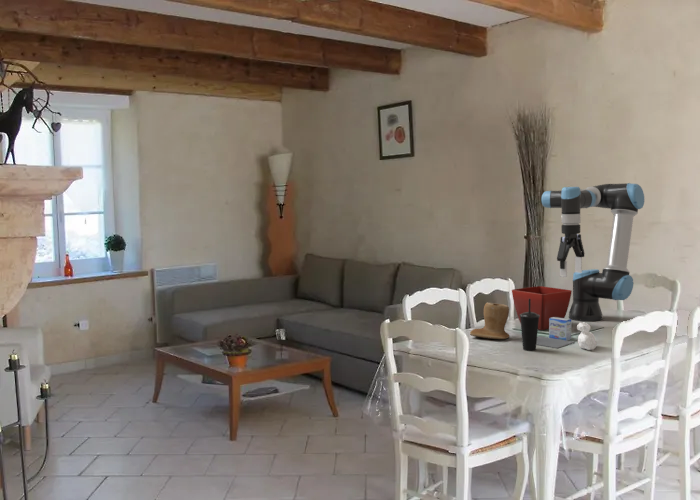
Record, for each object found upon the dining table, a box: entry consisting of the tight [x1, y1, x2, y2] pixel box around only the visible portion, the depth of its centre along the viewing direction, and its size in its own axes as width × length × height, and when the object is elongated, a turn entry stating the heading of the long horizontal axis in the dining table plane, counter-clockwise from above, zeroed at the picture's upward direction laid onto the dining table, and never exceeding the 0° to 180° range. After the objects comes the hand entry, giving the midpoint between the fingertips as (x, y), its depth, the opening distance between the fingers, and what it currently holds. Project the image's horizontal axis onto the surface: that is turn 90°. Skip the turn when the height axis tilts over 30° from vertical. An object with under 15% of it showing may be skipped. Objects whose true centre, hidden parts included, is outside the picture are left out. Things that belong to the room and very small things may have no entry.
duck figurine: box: [576, 321, 598, 351], centre depth 269 cm, size 12×8×11 cm
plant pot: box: [511, 285, 573, 331], centre depth 310 cm, size 19×19×17 cm
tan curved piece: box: [469, 302, 510, 340], centre depth 290 cm, size 15×12×15 cm
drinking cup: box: [519, 299, 540, 352], centre depth 268 cm, size 8×8×20 cm
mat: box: [536, 335, 576, 349], centre depth 280 cm, size 13×16×1 cm
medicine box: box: [548, 317, 572, 341], centre depth 286 cm, size 8×4×9 cm, turn 45°
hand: (571, 274), depth 289 cm, fingers open, 13 cm apart
